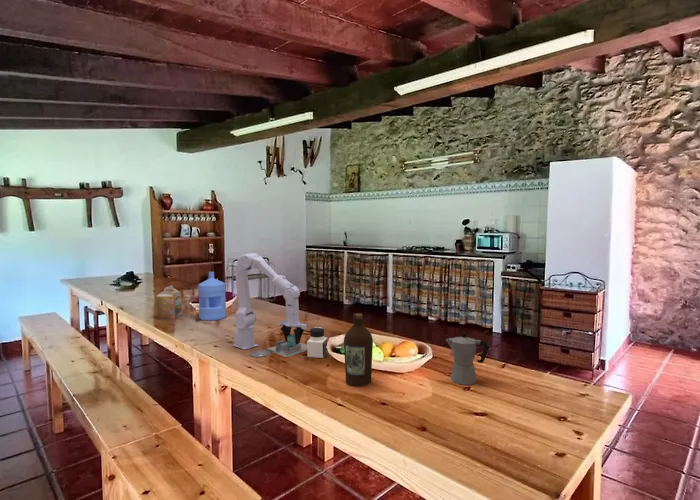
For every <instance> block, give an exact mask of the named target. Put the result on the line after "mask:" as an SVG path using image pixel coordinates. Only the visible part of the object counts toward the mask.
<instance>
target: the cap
mask: <svg viewBox="0 0 700 500" xmlns="http://www.w3.org/2000/svg"><path fill="white" fill-rule="evenodd" d="M296 345H298V344H296V342H295V333H290V335H287V344H284V347H288V346H296Z"/></svg>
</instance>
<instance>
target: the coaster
mask: <svg viewBox="0 0 700 500" xmlns="http://www.w3.org/2000/svg"><path fill="white" fill-rule="evenodd" d="M271 354H272V352H270V351H268V350H267V349H258V350H253V351H251V352H249V356H250V357H252V358H265V357H268V356H270V355H271Z"/></svg>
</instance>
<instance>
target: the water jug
mask: <svg viewBox="0 0 700 500" xmlns="http://www.w3.org/2000/svg"><path fill="white" fill-rule="evenodd" d="M197 285H198V288H197V292H198V302H199V303H198V304H199V307H198V309H199V310H198V311H199V314H198V318H199V319H200V320H202V321H207V322H208V321H209V322H210V321H211V322H212V321H219V320H223V319H225V318H226V317H227V300H226V299H227V298H226V283H225V282H223V281H222V280H219V279H217V278H215V271H208V278H207V279H206V280H204V281H202V282H200V283H198V284H197Z"/></svg>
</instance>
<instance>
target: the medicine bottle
mask: <svg viewBox="0 0 700 500" xmlns="http://www.w3.org/2000/svg"><path fill="white" fill-rule="evenodd" d="M309 333H310V336H309V337H310V338H309V339H308V340H307V342H306V345H307V351H306V352H307V354H306V355H307V357H308V358H318V359H319V358H320V359H324V357H325V356H326V355H327V354H328V337H327V336H326V337H325V329H324V328H323V327H319V326H316V327H312V328H310V331H309ZM326 346H327V348H326Z"/></svg>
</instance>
